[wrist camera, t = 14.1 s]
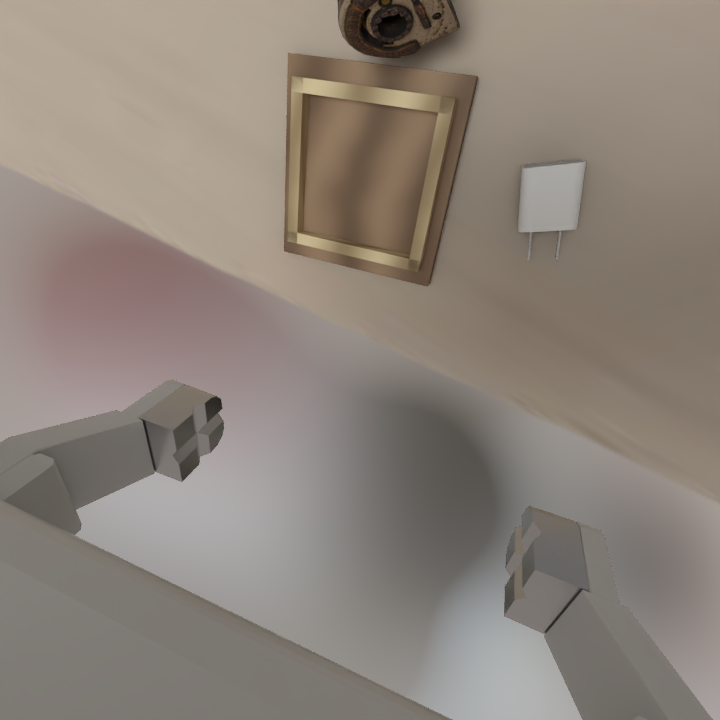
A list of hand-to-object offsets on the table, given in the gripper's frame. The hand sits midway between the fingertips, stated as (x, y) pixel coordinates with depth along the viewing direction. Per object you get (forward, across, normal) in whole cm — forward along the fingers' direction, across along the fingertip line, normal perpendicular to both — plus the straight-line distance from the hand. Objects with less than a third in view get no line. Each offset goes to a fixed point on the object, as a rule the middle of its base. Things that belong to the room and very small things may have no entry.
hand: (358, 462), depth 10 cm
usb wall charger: (+29, -5, -3) cm, 30 cm away
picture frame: (+29, +10, -3) cm, 31 cm away
